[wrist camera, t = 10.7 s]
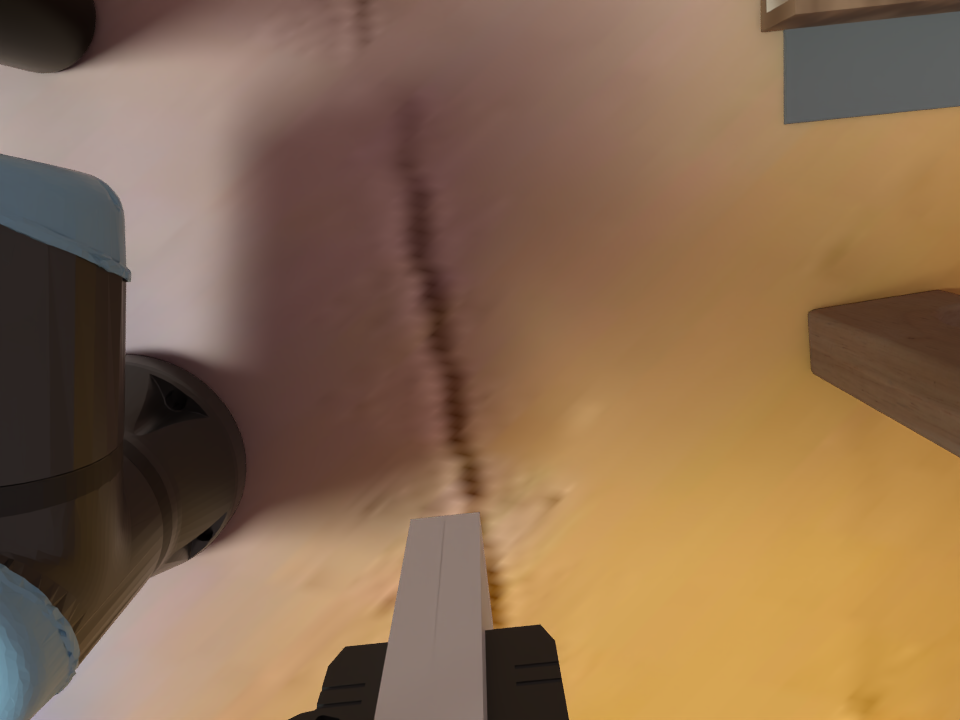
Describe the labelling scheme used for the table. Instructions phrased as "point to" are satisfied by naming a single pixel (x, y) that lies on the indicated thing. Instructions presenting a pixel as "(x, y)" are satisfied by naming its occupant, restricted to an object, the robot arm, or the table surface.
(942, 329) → the wooden block
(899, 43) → the mat
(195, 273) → the table surface
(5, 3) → the battery
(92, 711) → the table surface
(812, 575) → the table surface
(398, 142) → the table surface
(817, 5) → the walnut block
